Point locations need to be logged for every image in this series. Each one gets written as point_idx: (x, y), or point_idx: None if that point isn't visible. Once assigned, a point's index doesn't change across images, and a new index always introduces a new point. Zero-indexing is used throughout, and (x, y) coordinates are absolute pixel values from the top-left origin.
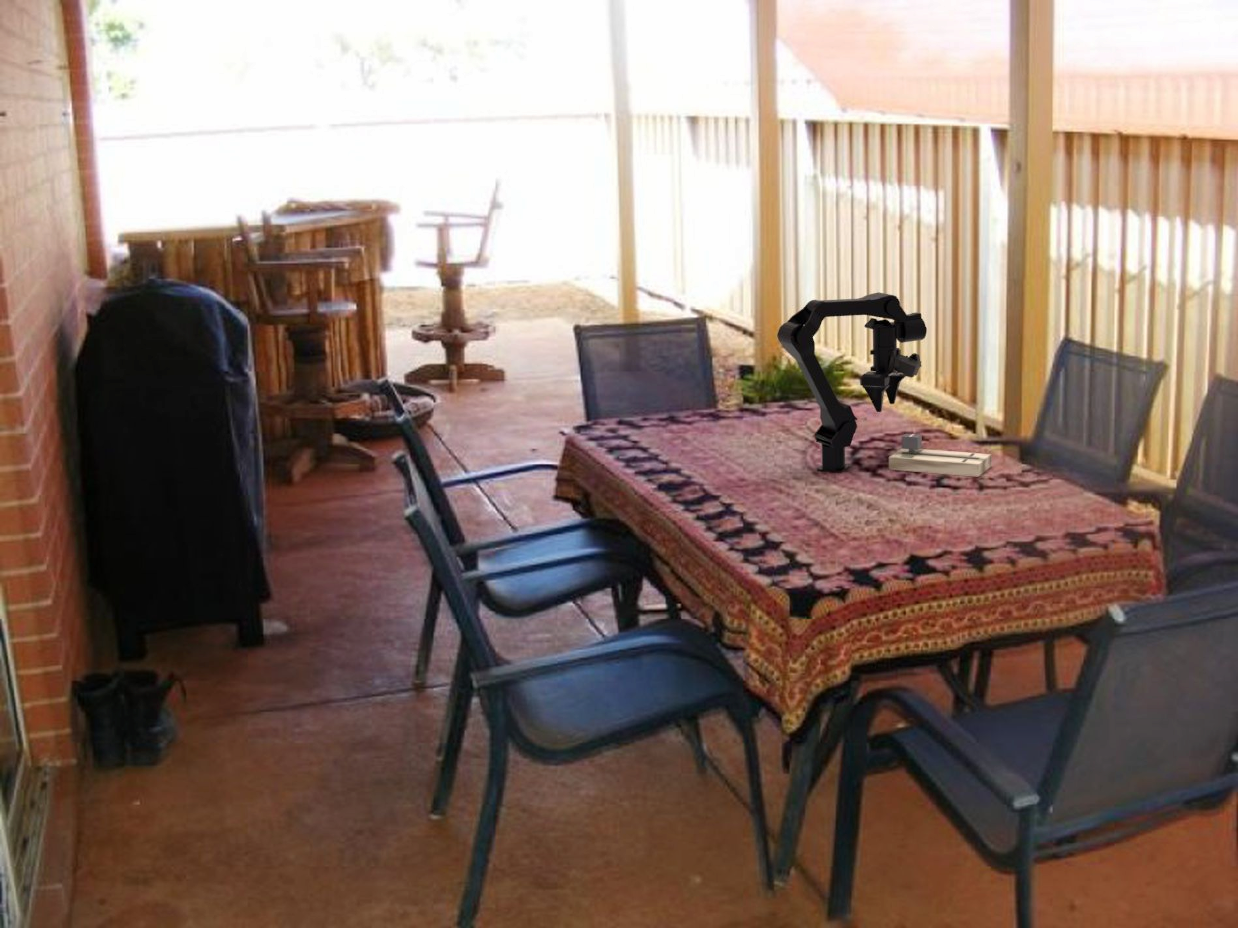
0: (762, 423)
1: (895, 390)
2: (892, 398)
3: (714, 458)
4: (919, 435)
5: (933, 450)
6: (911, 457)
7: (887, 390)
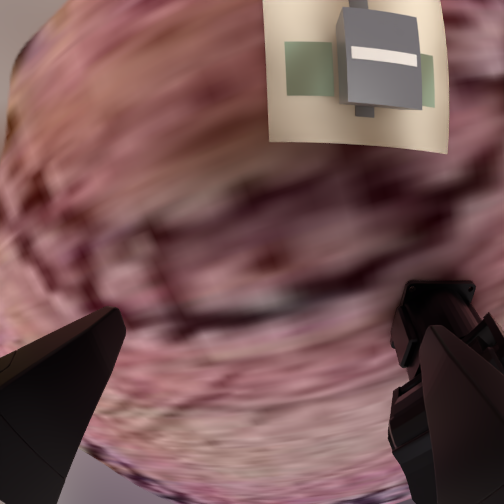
0: (129, 452)
1: (41, 371)
2: (98, 343)
3: (351, 475)
4: (365, 14)
5: (273, 2)
6: (432, 58)
7: (78, 420)
